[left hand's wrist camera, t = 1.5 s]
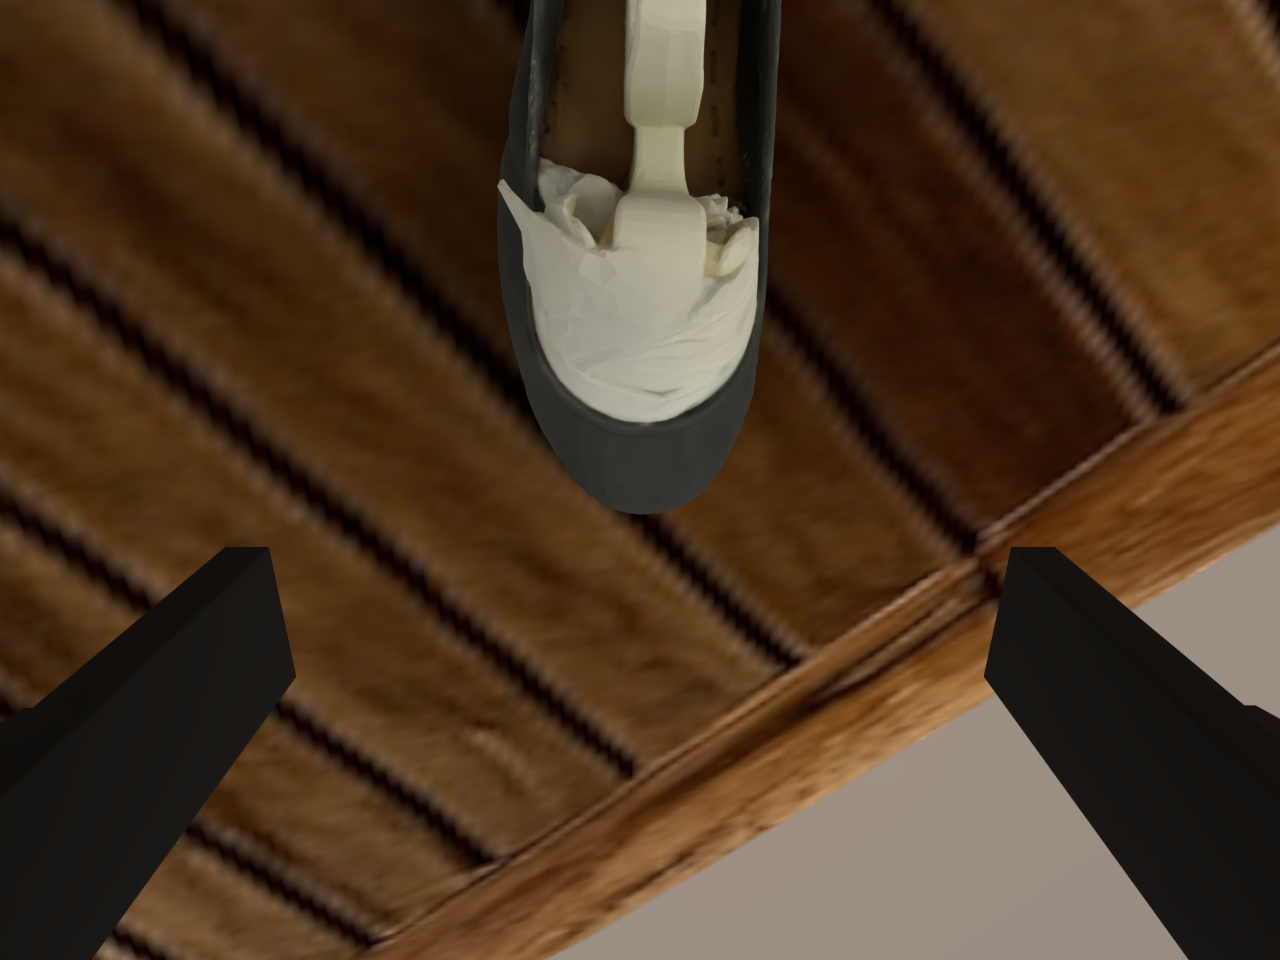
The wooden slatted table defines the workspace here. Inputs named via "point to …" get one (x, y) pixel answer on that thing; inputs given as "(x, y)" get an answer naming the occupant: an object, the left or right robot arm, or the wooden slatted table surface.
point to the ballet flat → (640, 234)
